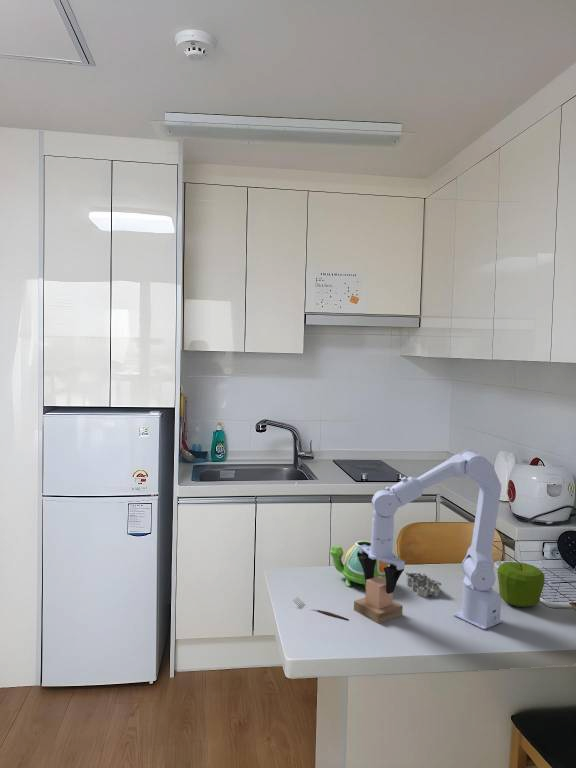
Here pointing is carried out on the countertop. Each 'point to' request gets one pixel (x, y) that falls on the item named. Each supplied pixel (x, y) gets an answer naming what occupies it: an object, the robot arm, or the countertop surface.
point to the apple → (520, 583)
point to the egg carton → (418, 584)
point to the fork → (320, 610)
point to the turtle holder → (354, 564)
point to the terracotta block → (377, 593)
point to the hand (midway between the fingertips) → (379, 587)
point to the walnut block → (378, 611)
